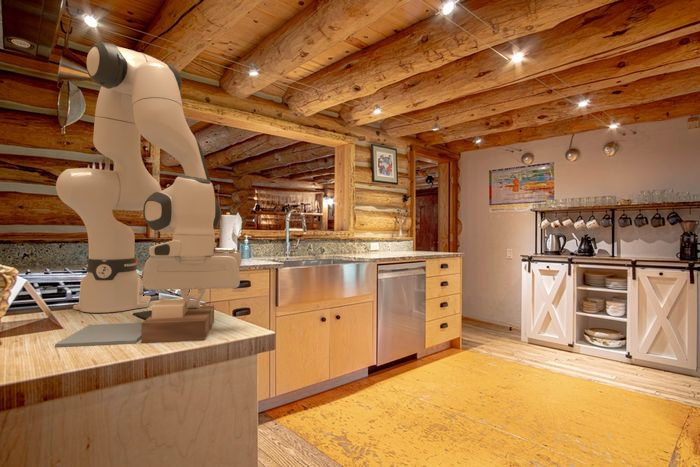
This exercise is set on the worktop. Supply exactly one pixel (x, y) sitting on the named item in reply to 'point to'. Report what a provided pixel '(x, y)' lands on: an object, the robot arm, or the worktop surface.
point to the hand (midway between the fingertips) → (192, 308)
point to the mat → (104, 335)
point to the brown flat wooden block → (179, 326)
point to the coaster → (169, 309)
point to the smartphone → (143, 314)
